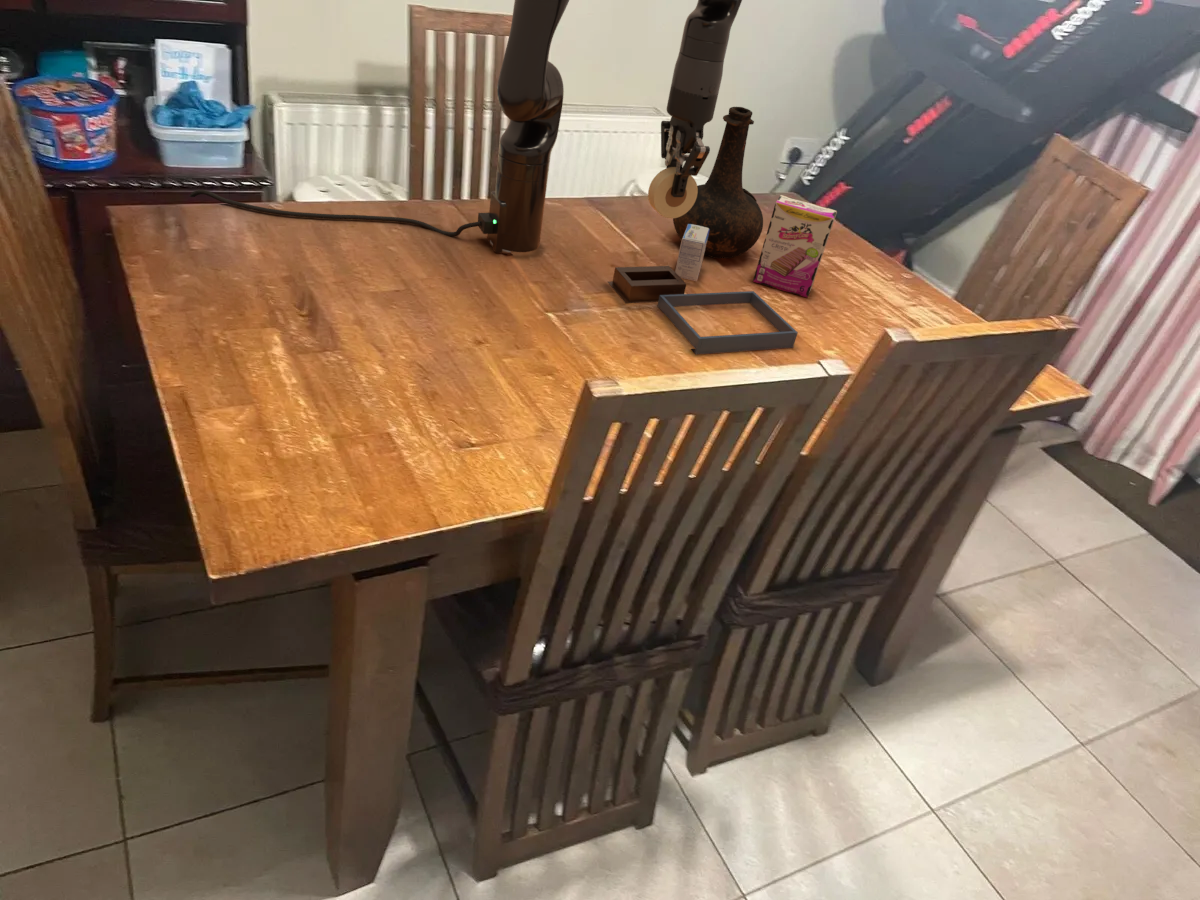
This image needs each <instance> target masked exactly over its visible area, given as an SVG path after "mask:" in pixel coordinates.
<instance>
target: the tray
mask: <svg viewBox="0 0 1200 900" xmlns="http://www.w3.org/2000/svg"><path fill="white" fill-rule="evenodd" d="M732 304H750V305H751V306H752V307H753V308H754V309H756V311H757V312H759V313H760V314H761V315H762V316H763V318H765V319H766V321H768V322H769V323H770V324H771V325H772V326H773V327H774V328H775V329H776V330H777V331H772V332H758V333H757V332H756V333H754V332H753V333H741V334H739V333H737V334H725V335H709V336H707V335H706V336H700V335H699V333H698V332H697V331H696V330H695V329H694V328H693V327H692V326H691V324H689V322H688V321H687V320H686V319H685V318H684V317H683V316H682V314H680V313H679V311H678V310H677V309H676V307H691V306H694V307H695V306H710V305H711V306H712V305H713V306H714V305H732ZM657 307H658V309H660V311H661V312H662V313H663V314H664V315H665V317H666V318H668V320H669V321H670V322H671V323H672V324H673V325H674V327H675V328H676V329H677V330H678V331H679V332H680V333H681V335H683V337H684V338H685V339H686V340H687V341H688V342H689V343H690V345H692V347H693V348H690V350H691V352H692V353H693V354H694V355H697V356H698V355H711V354H722V353H723V354H724V353H738V352H739V353H740V352H752V351H766V350H767V351H768V350H780V349H781V350H782V349H793V348H794V345H795V343H796V340H797V337H798V333H799V332H798V331H797V330H796V329H795V328H794V327H793V326H791V324H789V323H788V322H787V321H786V320H785V319H784V318H783V317H782V316H781V315H780V314H779V313H778V312H776V310H774V309H773V308H772V307H771V306H770V305H769V304H768V303H767V302H766V301H765V300H764V299H763V298H761V296H760V295H759V294H757V293H756V292H755V291H754V290H749V291H725V292H701V293H684V294H674V295H660V296H659V300H658V302H657Z"/></svg>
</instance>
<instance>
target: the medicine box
mask: <svg viewBox="0 0 1200 900" xmlns="http://www.w3.org/2000/svg"><path fill="white" fill-rule="evenodd" d="M709 230H710V229H709V228H706V227H703V226H698V225H693V224H688V225H687V228H686V231H685V233H684V236H683V238H682V241H681V240H680V241H681V242H680V246H679V250H678V255H677V259H676V266H675V270H674V272H675V273H676V274H677V275H678V276H679V277H680V278H681V279H683V280H688V281H693V282H698V279H699V276H700V272H701V270H702V265H703V261H704V256H705V255H704V252H705V248H706V244H707V239H708V235H709Z"/></svg>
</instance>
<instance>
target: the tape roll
mask: <svg viewBox="0 0 1200 900" xmlns="http://www.w3.org/2000/svg"><path fill="white" fill-rule="evenodd" d="M675 174H676V167H669V168H664V169H662V170H660V171H659V172H658V173H657V174H656V175H655V176H654V177H653V179H652V180H651V182H650V184H649V188H648V190H647V198H648V202H649V204H650V206H651V207H652V209H654V210H655V212H657V213H658V214H659V215H660V216H661V217H663V218H665V219H672V220H673V218H678V217H680V216H682V215H684V214H685V213H687V212H688V211H689V210H690V209H691V208H692V206H693V205H694V203H695V201H696V198H697V193H698V188H697V186H698V183H697V181H696V179H695V178H694V176H689V177H688V181H687V185H686V190H685V194H684V196H683V197H673V196H672V195H671V190H672V185H673V180H674V175H675Z"/></svg>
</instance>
